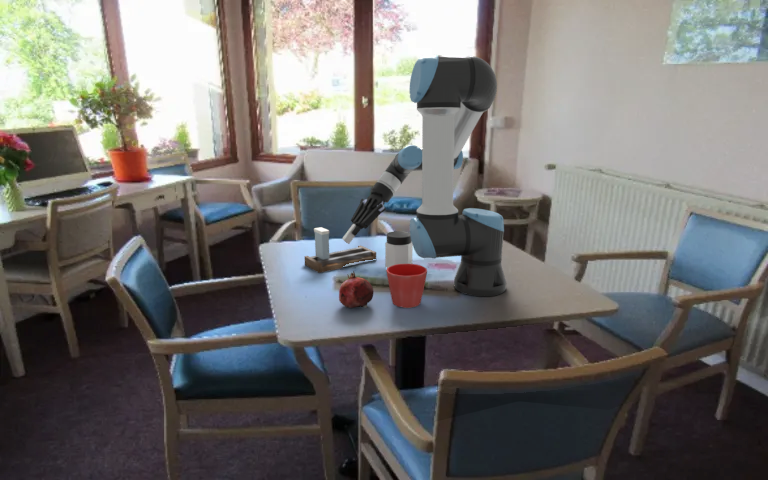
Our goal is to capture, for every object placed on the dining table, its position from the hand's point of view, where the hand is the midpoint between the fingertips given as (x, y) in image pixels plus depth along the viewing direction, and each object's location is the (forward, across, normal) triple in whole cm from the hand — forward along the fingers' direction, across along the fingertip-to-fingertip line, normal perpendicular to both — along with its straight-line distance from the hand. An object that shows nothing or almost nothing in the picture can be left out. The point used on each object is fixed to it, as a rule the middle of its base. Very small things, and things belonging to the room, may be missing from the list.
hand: (345, 241), depth 169 cm
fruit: (+18, -34, +7) cm, 39 cm away
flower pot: (+9, -40, -2) cm, 41 cm away
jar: (-2, -17, -12) cm, 21 cm away
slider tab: (+10, 0, +2) cm, 11 cm away
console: (+7, 0, -4) cm, 8 cm away
